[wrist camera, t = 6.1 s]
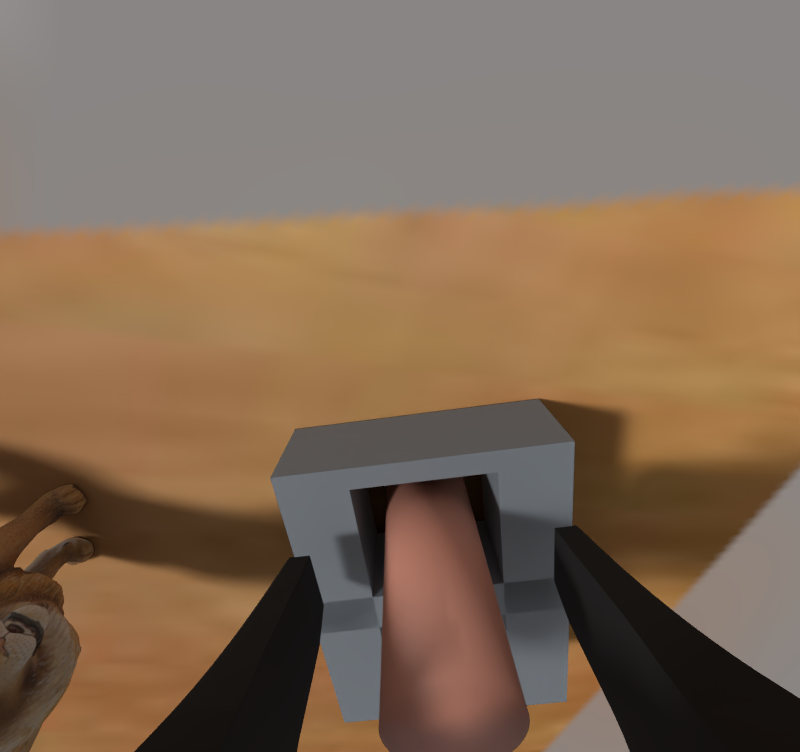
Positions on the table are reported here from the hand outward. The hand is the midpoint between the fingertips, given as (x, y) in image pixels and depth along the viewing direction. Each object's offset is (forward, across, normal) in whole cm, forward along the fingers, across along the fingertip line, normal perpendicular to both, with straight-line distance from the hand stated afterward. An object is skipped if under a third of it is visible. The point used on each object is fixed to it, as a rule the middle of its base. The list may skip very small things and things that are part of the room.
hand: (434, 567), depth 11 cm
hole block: (+4, 0, +3) cm, 5 cm away
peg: (+4, 0, 0) cm, 4 cm away
